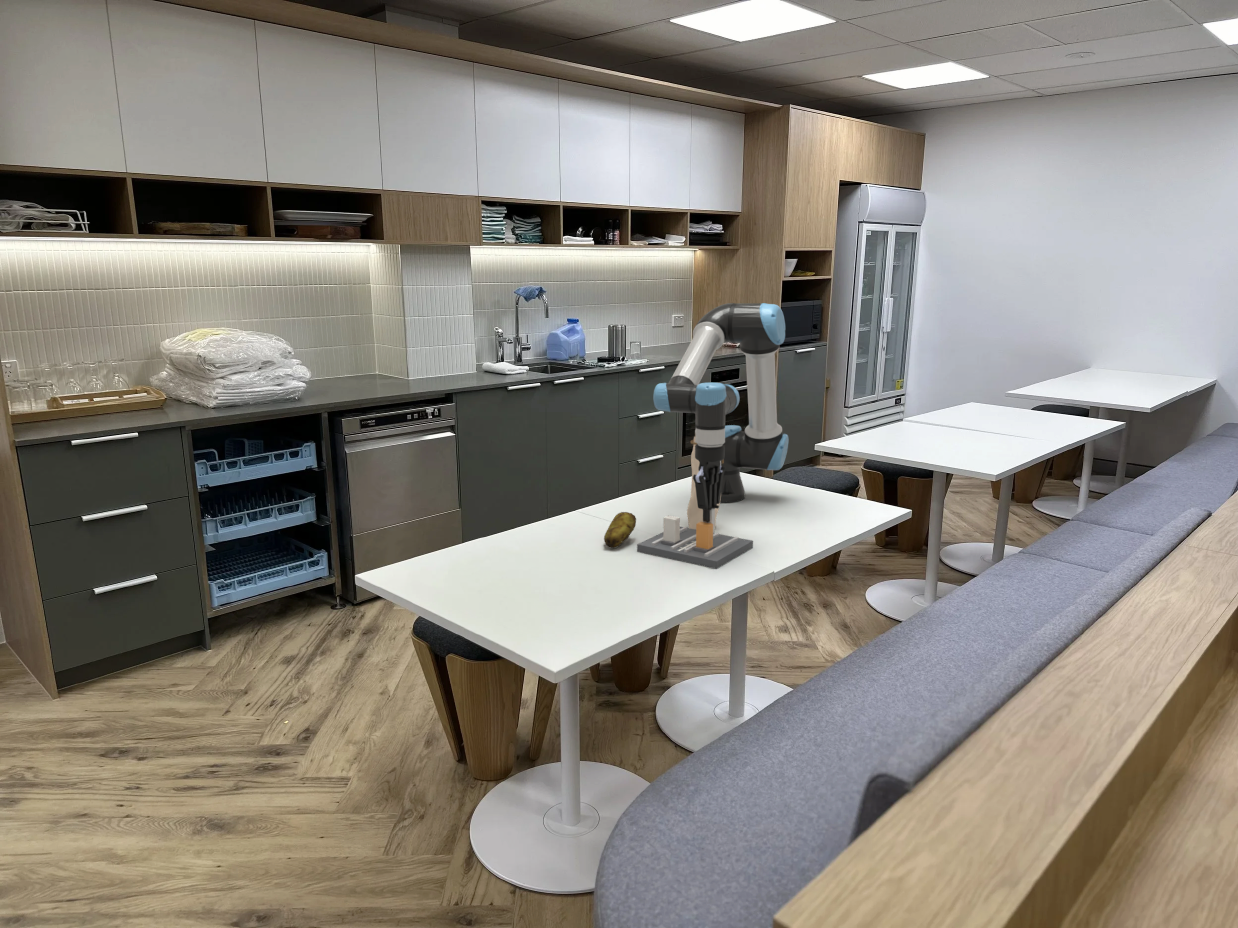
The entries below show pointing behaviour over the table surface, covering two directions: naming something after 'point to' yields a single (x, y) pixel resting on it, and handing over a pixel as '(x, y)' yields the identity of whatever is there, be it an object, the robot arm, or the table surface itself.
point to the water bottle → (693, 511)
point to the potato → (620, 529)
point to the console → (685, 551)
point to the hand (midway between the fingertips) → (708, 532)
